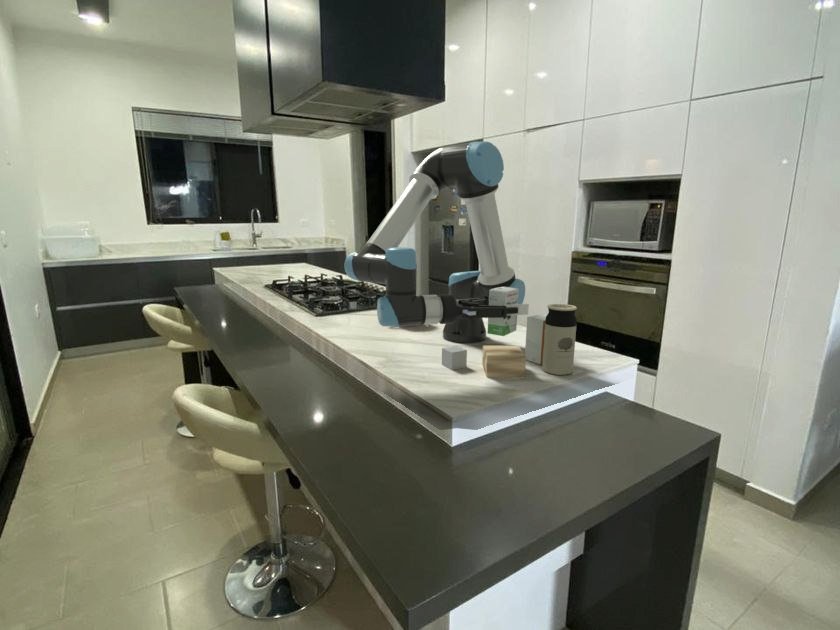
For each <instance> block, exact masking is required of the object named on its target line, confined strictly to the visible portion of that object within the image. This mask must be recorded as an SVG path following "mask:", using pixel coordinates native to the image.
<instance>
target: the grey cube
mask: <svg viewBox="0 0 840 630" xmlns="http://www.w3.org/2000/svg"><path fill="white" fill-rule="evenodd" d="M467 358H468V349H466V348H463V347H461V346H458V345H454V346H447V347H442V348H441V365H442V366H443V367H445V368H447V369H449V370H453V371H454V370H458V369H463V368H467V362H468V361H467V360H468V359H467Z"/></svg>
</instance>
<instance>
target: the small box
mask: <svg viewBox="0 0 840 630" xmlns="http://www.w3.org/2000/svg"><path fill="white" fill-rule="evenodd" d="M547 314H548V313H544V314H535V315H532V316H527V317H526V330H525V331H526V332H525V333H526V334H525V348H524V354H525V356H526V361H529V362H532V363H535V364H538V365H543V351H544V335H545V320H546V316H547Z"/></svg>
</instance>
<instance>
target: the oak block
mask: <svg viewBox="0 0 840 630" xmlns="http://www.w3.org/2000/svg"><path fill="white" fill-rule="evenodd" d="M481 357H482V360H481V362H482V363H481V365H482V369H483V372H484V374H485V376H486V378H515V377H525V376H526V365H527V364H526V363H527V360H526V356H525V352H524V351H523V350H522V349H521V347H520V346H519V345H486V344H485V345H482V356H481ZM525 378H526V377H525Z"/></svg>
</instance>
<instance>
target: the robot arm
mask: <svg viewBox="0 0 840 630" xmlns="http://www.w3.org/2000/svg"><path fill="white" fill-rule="evenodd" d="M504 169H505V168H504V159H503V157H502V154H501V152H500V150H499V149H498V147H497V145H495V144H493V143H492V142H490V141H470V142H465V143H458V144H453V145H444V146H441V147H439V148H437V149H435V150H434V151H432V152H431V153H429V154H428V155H427V156H426V157H424V159H423V160H422V161H421V162H420V163H419V164H418V165H417V166H416V168H415V169H413V171H412V173H411V175H410V176H409V178H408V181H409V183H408V184H407V186H406V187H405V189H404V190H403V192H402V193H401V194H400V196H399V197H398V198H397V200H396V201H395V203H394V204H393V205H392V207H391V208H390V210H389V211H388V212H387V214H386V216H385V217H384V218H383V219H382V221H381V222H380V224H379V225H378V226H377V228H376V230H375V231H374V232H373V234H372V235H371V236H370V238H369V239H368V241H367V242H366V243H365V244H364V246H363V248H361V250H360V251H354V252H352V253H350V254H348V255H347V257H346V258H345V261H344V263H343V264H344V267H343V268H344V271H345V273H346V275H347V277H349V278H350V279H351V280H353V281H354V280H355V281H358V282H362V283H363V282H365V283H375V284H380V285H385V295H383V296H380V297H379V298H377V301H376V302H377V303H376V305H377V306H376V313H377V315H376V316H377V320H378V323H379V324H380V326H382V327H396V328H400V327H410V326H425V327H427V328H428V327H430V325H438V324H441V325H444V326H443V330H442V338H443V337H444V338H445V340H446V339H447V341H449V342H450V341H451V342H456V343H478V342H482V341H485V340H486V339H487V329H486V326H485V323H484V319H485V318H486V319H488V318H503V319H506V317H507V316H508V315H517V316H523V315H524V316H525V315H529V305H530V304H529V303H524V300H525V297H526V285H525V284H526V283H525V282H524V280H522V279H520V278H517V277H516V272H515V269H514V268H513V267H511V266H509V262H508V257H507V253H506V247H505V243H504V242H505V241H504V237H503V232H502V226H501V220H500V216H499V211H498V207H497V206H498V205H497V201H496V195H495V194H496V192H497V191H498V189H499V184H500V182H501V181H502V179H503V177H504ZM449 188H450V189H454V188H456V192H457V196H458V198H459V199H460V200H461V201H464V203H465V206H466V211H467V216H468V220H469V224H470V228H471V233H472V238H473V242H474V246H475V251H476V252H475V253H476V255H477V259H478V264H479V268H480V270H471V271H461V272H453V273H452V274H450V276H449V279H448V294H439V295H437V294H424V295H423V294H422V295H417V271H418V270H417V268H418V264H417V253H416V250H415V249H414V248H413V247H399V246H400V244H402V242H403V240H404V239H405V237H407V234H408V233H409V231H410V230H411V228H412V227H413V226H414V224H415V223H416V221H417V220H418V219H419V217H420V215H421V214H422V213H423V211H424V209H425V208H426V207H427V205H428V203H429V202H430V201H431V200H433V199H436V198H437V196H438V195H439V194H440V193H441V192H442V191H444V190H446V189H449ZM498 287H510V288H518V289H519V293H518V304H508V305H504V306H495V305H489V290H490V289H494V288H498ZM444 338H443V339H444Z"/></svg>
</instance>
